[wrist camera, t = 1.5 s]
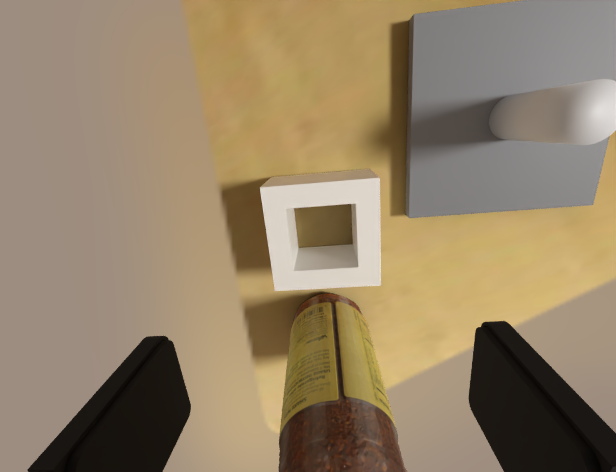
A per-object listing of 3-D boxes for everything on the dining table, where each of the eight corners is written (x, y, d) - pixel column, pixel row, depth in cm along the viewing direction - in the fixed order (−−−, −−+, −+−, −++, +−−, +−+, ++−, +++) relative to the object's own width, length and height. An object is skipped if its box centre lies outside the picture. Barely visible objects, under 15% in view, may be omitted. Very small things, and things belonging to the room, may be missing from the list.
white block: (271, 177, 21) (259, 187, 18) (369, 168, 21) (379, 177, 17) (283, 265, 24) (275, 291, 20) (371, 259, 23) (380, 285, 19)
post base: (409, 20, 18) (459, -44, 11) (627, -7, 17) (824, -95, 10) (405, 214, 22) (440, 251, 15) (580, 201, 21) (699, 235, 14)
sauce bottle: (290, 346, 26) (208, 873, 8) (295, 285, 24) (197, 810, 6) (364, 354, 26) (460, 910, 8) (375, 293, 24) (550, 859, 5)
